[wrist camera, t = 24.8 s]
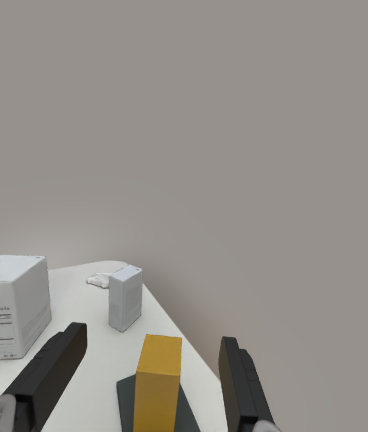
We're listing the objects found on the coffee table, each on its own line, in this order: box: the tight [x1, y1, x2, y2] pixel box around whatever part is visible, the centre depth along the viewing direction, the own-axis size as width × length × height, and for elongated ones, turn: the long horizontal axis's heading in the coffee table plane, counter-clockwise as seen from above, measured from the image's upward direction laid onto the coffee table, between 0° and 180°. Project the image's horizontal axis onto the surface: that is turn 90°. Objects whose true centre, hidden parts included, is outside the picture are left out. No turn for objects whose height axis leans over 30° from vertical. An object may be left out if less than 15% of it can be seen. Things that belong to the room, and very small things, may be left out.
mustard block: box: [133, 334, 182, 432], centre depth 24 cm, size 5×5×10 cm
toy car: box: [85, 273, 110, 288], centre depth 54 cm, size 5×8×2 cm, turn 72°
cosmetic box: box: [109, 265, 143, 332], centre depth 40 cm, size 6×4×12 cm
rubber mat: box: [117, 374, 200, 432], centre depth 25 cm, size 12×9×1 cm
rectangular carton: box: [0, 255, 51, 359], centre depth 33 cm, size 9×9×15 cm
